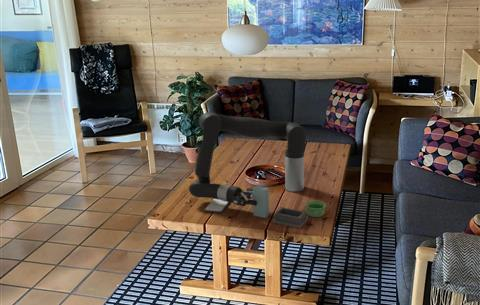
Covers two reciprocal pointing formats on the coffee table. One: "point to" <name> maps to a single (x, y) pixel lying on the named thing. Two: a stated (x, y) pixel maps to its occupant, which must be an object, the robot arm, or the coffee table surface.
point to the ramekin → (315, 208)
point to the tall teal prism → (261, 201)
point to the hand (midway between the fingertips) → (261, 199)
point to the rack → (290, 217)
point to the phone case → (216, 206)
